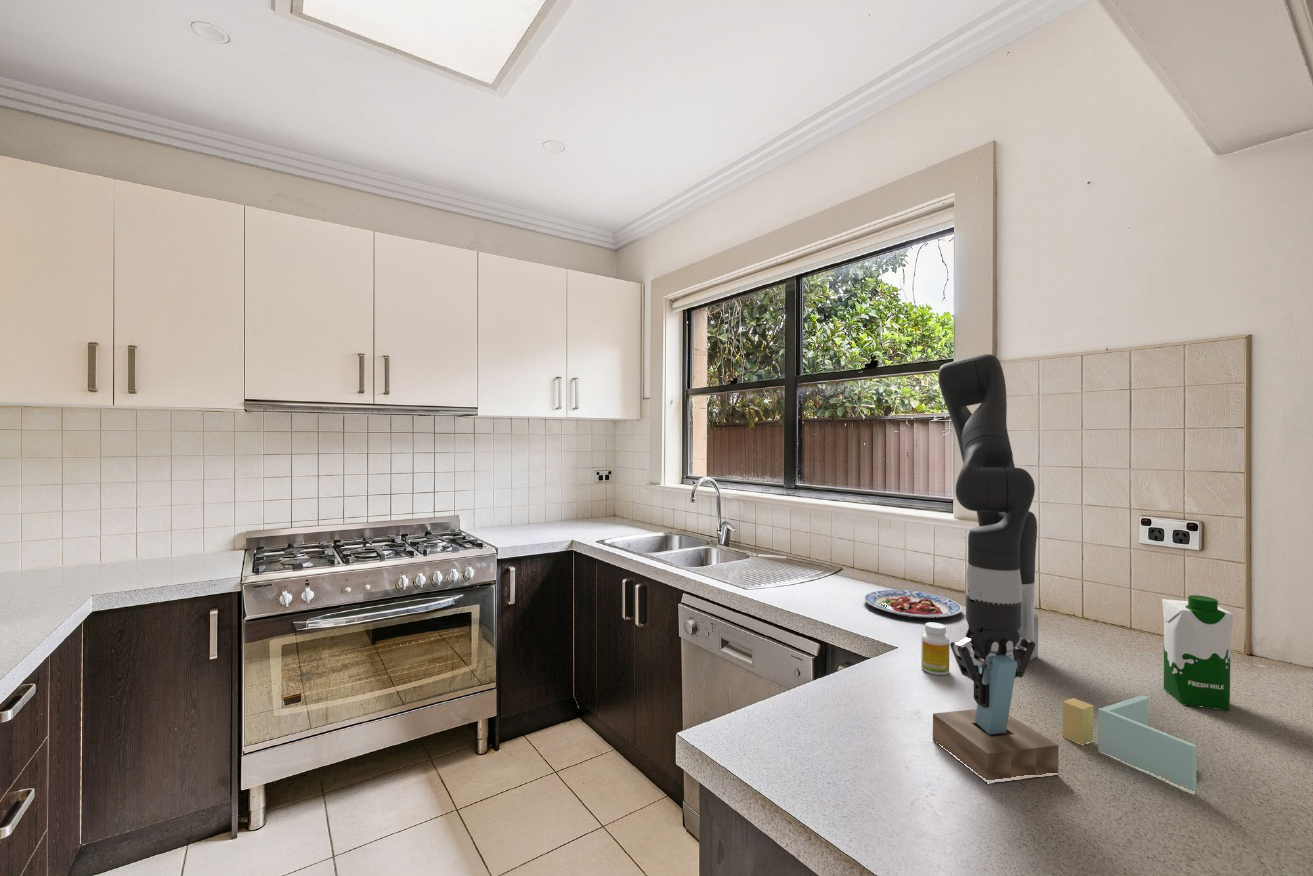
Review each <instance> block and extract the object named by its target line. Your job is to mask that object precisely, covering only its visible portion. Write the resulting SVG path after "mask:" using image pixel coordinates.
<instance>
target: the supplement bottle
mask: <svg viewBox="0 0 1313 876" xmlns="http://www.w3.org/2000/svg"><path fill="white" fill-rule="evenodd" d="M946 628H947V626H946V625H944V624H943V623H939V622H931V621H928V622H926V623H925V624H924V630H925V632H923V633H922V635H921V647H920V648H921V649H920V650H921V653H920V655H921V659H920V660H921V666H920V667H921V669H922V670H923V671H924V672H926V673H929V674H931V675H935V676H945V675H948V674H949V673H950V639H949V637H948V636H947V635H946V633H947V629H946Z"/></svg>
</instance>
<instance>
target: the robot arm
mask: <svg viewBox="0 0 1313 876" xmlns="http://www.w3.org/2000/svg"><path fill="white" fill-rule="evenodd" d="M1004 375H1005V374H1004V371H1003V367H1002V364H1001V363H1000V360H999V359H998V357H997V356H995V355H994V354H990V353H988V354H981V355H977V356H976V355H975V356H971V357H968V358H963V359H958V360H954V361H951V362H947V363H944V364H942V365H941V366H940V368H939V369H938V374H937V379H938V380H937V381H938V384H939V389H940V392H941V395H942V398H943V400H944V405H945V406H946V409H947V412H948V415H949V417H950V419H951V422H952V424H953V428H954V431H955V434H956V438H957V442H958V446H959V451H960V456H961V459H962V463H963V464H962V467H961V469H960V472H959V474H958V477H957V479H956V480H957V481H956V483H955V496H956V499H957V501H958V504H960V505H961V506H962V507H963V508H964V509H965V510H968V511H972V512H976V515H977V521H978V526H975V527H973V528H971V529H970V530H969V532H968V538H967V568H966V576H965V620H966V622H967V624H968V625H967V626H968V628H967V632H966V633H965V638H963V639H962V640H960V641H959V642H958V641H956V640H953V641H950V643H949V647H950V648H951V652H952V654H953V656H954V659H955V661H956V664H957V666H958V668H959V671H960V673H961V675H962V676H964V677H966V678H968V679H970V680H971V681H972V682H973V699H974V701H975V703H976V704H977V705H978V704H979V705H980V706H982V707H983V708H988V707H989V684H988V683H989V679H990V671H991V670H992V669H993V658H995V657H996V655H1004V656H1006V657H1011V658H1012V659H1014V660H1015V661H1016V662H1017V667H1016V673H1015V679H1016V678H1020V679H1021V678H1023V677H1024V675H1025V673H1026V671H1027V668H1028V665H1029V663H1030V661H1032V660H1034V659H1035V658H1038V657H1039V616H1038V614H1037V613H1035V598H1036V597H1035V596H1036V595H1035V593H1036V592H1035V591H1036V589H1035V588H1036V586H1035V582H1036V579H1035V577H1036V550H1037V540H1038V539H1037V538H1038V521H1037V517H1036V516H1035V515H1036V514H1034V512H1032V511H1030V508H1031V506H1032V503H1033V501H1034V497H1035V491H1036V486H1035V481H1034V479H1033V477H1032V475H1031V474H1030V473H1029V472H1028V471H1027V470H1025V469H1024V468H1022V467H1021V468H1020V467H1016V466H1015V462H1014V455H1013V451H1012V450H1013V449H1012V445H1011V442H1010V438H1009V437H1010V436H1009V433H1008V425H1007V416H1008V415H1007V414H1008V413H1007V412H1008V411H1007V407H1008V403H1007V386H1006V378H1005V376H1004ZM973 405H979V406H978V407H977V408H976V409H975V410H974V412H973V413H972V411H970V409H969V408H968V407H969V406H973ZM984 660H986V661H985V662H984Z"/></svg>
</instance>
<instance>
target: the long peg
mask: <svg viewBox="0 0 1313 876" xmlns="http://www.w3.org/2000/svg"><path fill="white" fill-rule="evenodd" d="M983 661H984V662H985V661H986V660H983ZM1017 666H1018V661H1017V662H1016V661H1015V660H1014V659H1012V658H1011V657H1006V656H1004V655H996V657H995V658H993V669H992V670H991V671H990V679H989V683H988V684H989V707H988V708H983V707H982V706H980V705H979V704H977V706H976V709H977V712H976V718H975V722H976V723H977V724H978V725H979V726H980V727H981V728H982V729H983V730H984V731H986V732H987V733H988V734H999V733H1006V729H1007V723H1008V716H1009V715H1010V709H1011V703H1012V697H1013V692H1014V691H1013V690H1014V685H1015V679H1016V678H1015V673H1016V667H1017Z"/></svg>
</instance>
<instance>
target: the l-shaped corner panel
mask: <svg viewBox="0 0 1313 876" xmlns="http://www.w3.org/2000/svg"><path fill="white" fill-rule="evenodd" d="M1097 719H1098V724H1097V725H1098V727H1097V728H1098V731H1097V736H1098V737H1097V751H1098V750H1099V751H1100V752H1103V753H1105V754H1108V755H1111V756H1113V757H1116V758H1117V759H1120V760H1121V761H1124V762H1125V763H1128V764H1130V765H1133V766H1135V767H1138V768H1140V769H1143V770H1145V771H1149V773H1153V774H1155V775H1157V776H1161V778H1165V779H1166V780H1169V781H1170V782H1172V783H1174V784H1177V785H1179V786H1183V787H1184V788H1187V789H1189V790H1192V791H1194V790H1196V791H1197V777H1196V776H1197V773H1196V771H1197V768H1198V766H1197V765H1198V764H1197V760H1198V759H1197V758H1198V757H1197V756H1198V755H1197V752H1198V751H1197V750H1198V749H1197V747H1198V746H1197V745H1196V744H1194V743H1192V742H1189V741H1188V740H1184V739H1181V738H1179V737H1177V736H1175V735H1171V734H1170V733H1166V732H1164V731H1161V730H1159V729H1157V728H1153V727H1152V726H1150V698H1149V697H1148V696H1144V695H1138V696H1135V697H1132V698H1128V699H1125V700H1122V701H1120V702H1117V703H1113V704H1109V705H1106V706H1104V707H1101V708H1098V718H1097Z"/></svg>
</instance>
